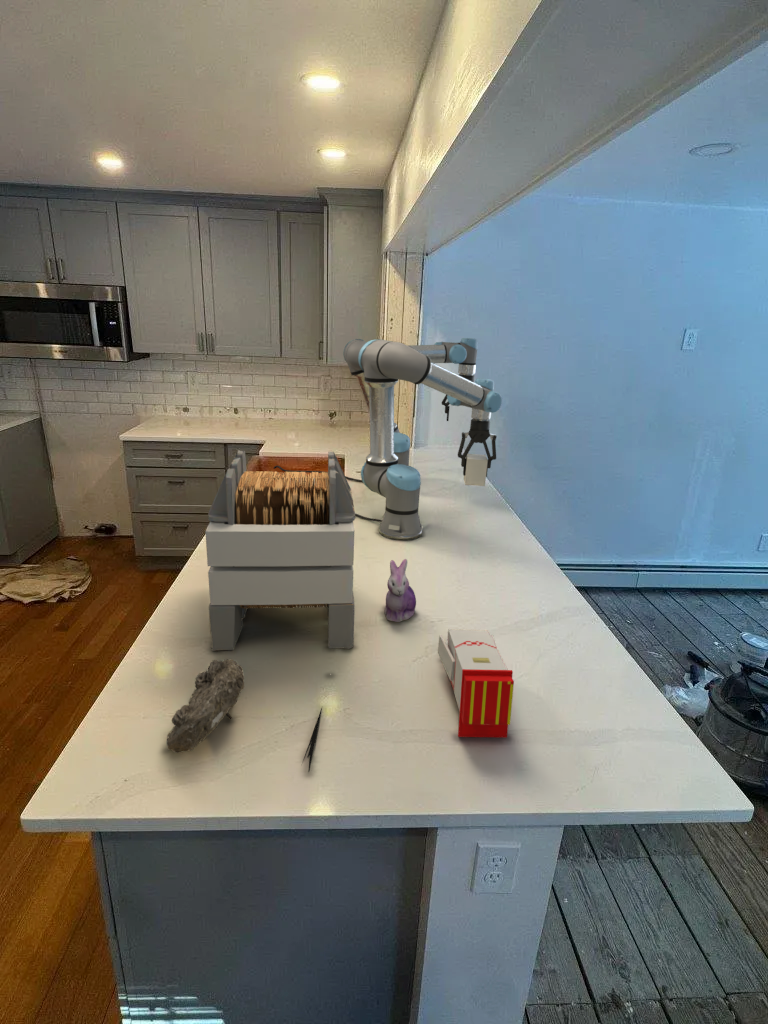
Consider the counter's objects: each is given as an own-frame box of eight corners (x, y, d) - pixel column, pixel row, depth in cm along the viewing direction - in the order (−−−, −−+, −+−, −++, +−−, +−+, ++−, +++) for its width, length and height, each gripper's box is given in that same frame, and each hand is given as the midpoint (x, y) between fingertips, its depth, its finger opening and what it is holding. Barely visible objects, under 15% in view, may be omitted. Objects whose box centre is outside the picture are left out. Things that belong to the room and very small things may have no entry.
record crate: (231, 583, 159) (223, 441, 145) (347, 582, 163) (350, 443, 149) (209, 653, 127) (196, 479, 114) (354, 649, 131) (359, 481, 117)
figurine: (392, 627, 141) (395, 572, 136) (374, 608, 149) (376, 556, 144) (425, 619, 145) (429, 566, 140) (405, 601, 154) (408, 550, 149)
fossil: (192, 660, 117) (244, 628, 112) (224, 691, 120) (276, 661, 115) (142, 746, 98) (202, 712, 93) (182, 779, 101) (242, 748, 96)
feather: (331, 679, 122) (336, 673, 122) (307, 777, 96) (313, 769, 95) (324, 675, 122) (329, 669, 121) (298, 772, 95) (304, 764, 95)
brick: (484, 486, 227) (487, 460, 223) (464, 484, 227) (467, 458, 223) (482, 480, 235) (485, 454, 231) (463, 478, 235) (466, 453, 232)
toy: (488, 613, 130) (523, 677, 101) (484, 667, 133) (517, 744, 104) (435, 612, 130) (455, 676, 101) (432, 666, 133) (451, 743, 103)
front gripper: (506, 419, 225) (499, 474, 233) (453, 416, 226) (448, 471, 234) (508, 422, 218) (501, 479, 226) (454, 419, 219) (449, 476, 227)
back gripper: (493, 374, 257) (488, 421, 264) (438, 371, 258) (435, 418, 265) (495, 376, 249) (490, 424, 257) (438, 373, 251) (435, 421, 258)
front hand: (474, 475), depth 230 cm, fingers closed on brick, 8 cm apart
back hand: (462, 421), depth 261 cm, fingers open, 13 cm apart
